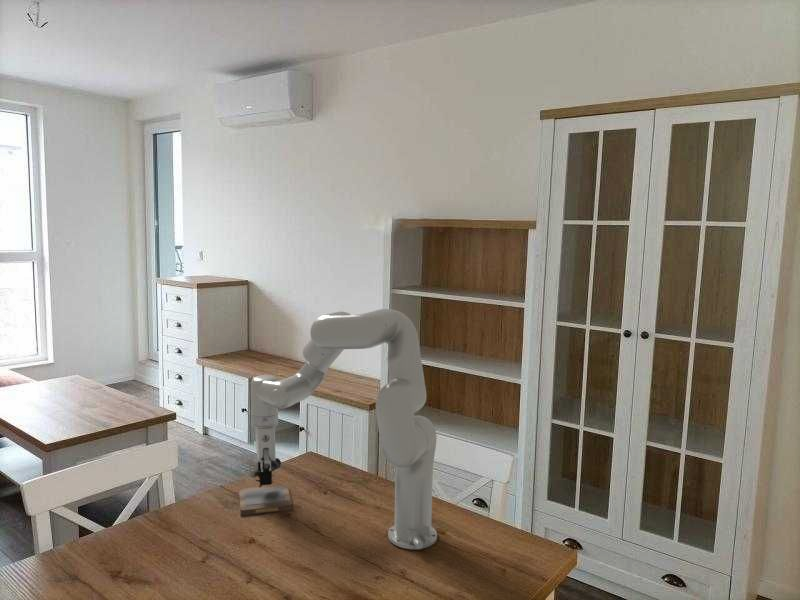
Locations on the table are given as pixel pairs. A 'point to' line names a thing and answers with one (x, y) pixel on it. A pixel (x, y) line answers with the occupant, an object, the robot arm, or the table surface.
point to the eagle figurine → (274, 466)
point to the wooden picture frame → (264, 499)
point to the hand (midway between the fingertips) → (264, 477)
